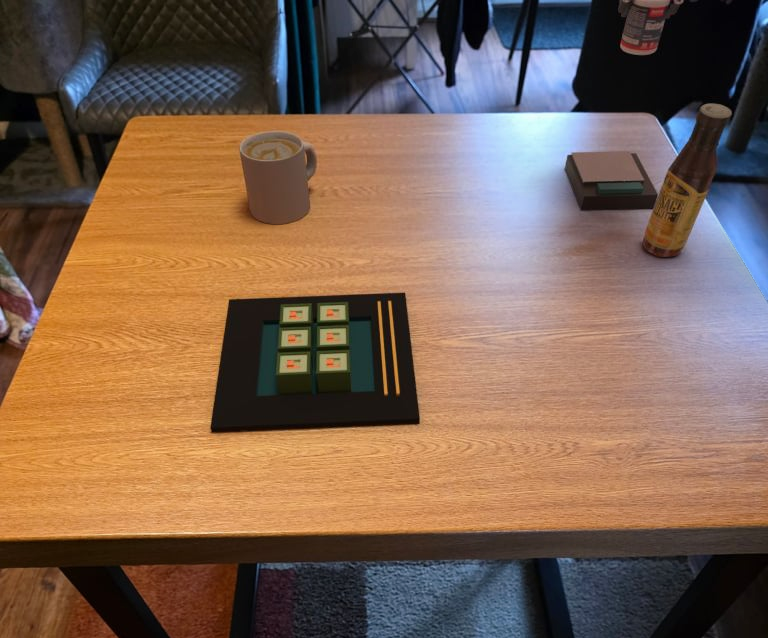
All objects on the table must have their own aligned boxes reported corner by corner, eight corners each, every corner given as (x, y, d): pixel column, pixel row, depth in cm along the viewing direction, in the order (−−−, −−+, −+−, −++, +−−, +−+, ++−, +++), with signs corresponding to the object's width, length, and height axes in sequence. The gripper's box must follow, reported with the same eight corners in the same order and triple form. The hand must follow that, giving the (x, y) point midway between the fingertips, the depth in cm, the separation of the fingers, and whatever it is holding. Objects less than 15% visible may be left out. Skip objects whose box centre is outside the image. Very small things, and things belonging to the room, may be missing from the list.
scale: (632, 167, 116) (637, 148, 114) (653, 208, 108) (659, 189, 105) (564, 168, 116) (568, 149, 113) (580, 210, 108) (585, 191, 105)
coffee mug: (269, 231, 105) (259, 167, 97) (239, 205, 110) (227, 142, 102) (339, 204, 110) (334, 141, 102) (307, 180, 114) (301, 118, 106)
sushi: (419, 423, 79) (420, 401, 76) (211, 432, 79) (204, 410, 76) (405, 297, 94) (405, 274, 91) (230, 304, 94) (225, 281, 91)
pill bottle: (639, 58, 94) (659, -19, 87) (612, 48, 97) (629, -28, 90) (664, 50, 96) (685, -26, 89) (636, 39, 99) (655, -35, 92)
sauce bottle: (632, 242, 102) (677, 101, 86) (666, 233, 103) (717, 94, 87) (657, 264, 98) (709, 122, 82) (692, 255, 100) (750, 114, 84)
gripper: (754, -112, 76) (701, -17, 93) (627, -114, 78) (598, -20, 95) (742, -40, 78) (692, 41, 94) (618, -44, 79) (590, 37, 96)
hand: (645, 10), depth 94 cm, fingers closed on pill bottle, 5 cm apart
